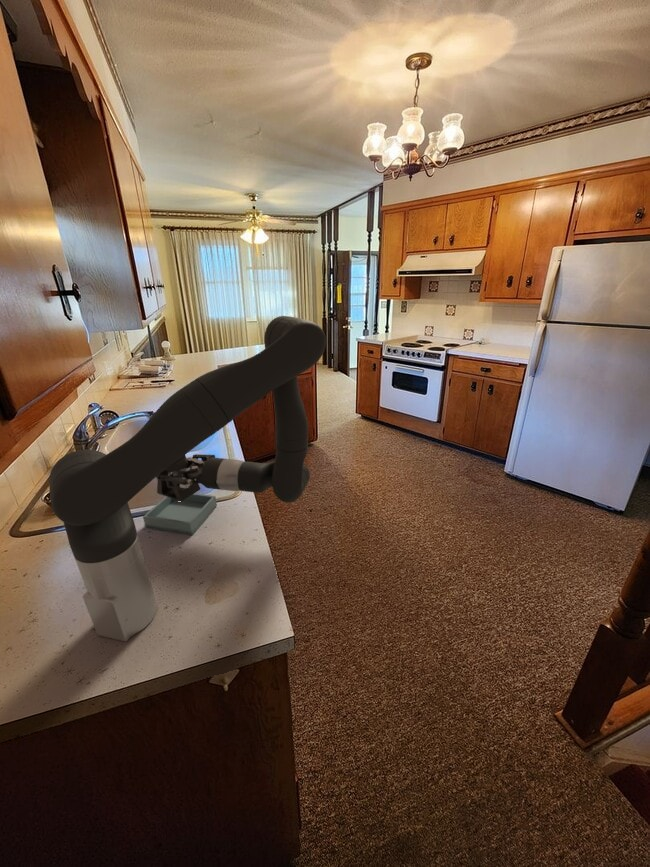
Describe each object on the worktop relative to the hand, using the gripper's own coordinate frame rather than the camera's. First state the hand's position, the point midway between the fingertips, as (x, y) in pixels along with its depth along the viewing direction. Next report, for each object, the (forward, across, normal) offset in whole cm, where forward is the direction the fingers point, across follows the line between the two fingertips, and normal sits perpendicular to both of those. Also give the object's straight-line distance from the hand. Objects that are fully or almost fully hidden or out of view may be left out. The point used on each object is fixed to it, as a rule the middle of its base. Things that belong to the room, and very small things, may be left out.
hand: (165, 468), depth 88 cm
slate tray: (-2, 0, +14) cm, 15 cm away
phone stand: (-2, 0, +7) cm, 7 cm away
